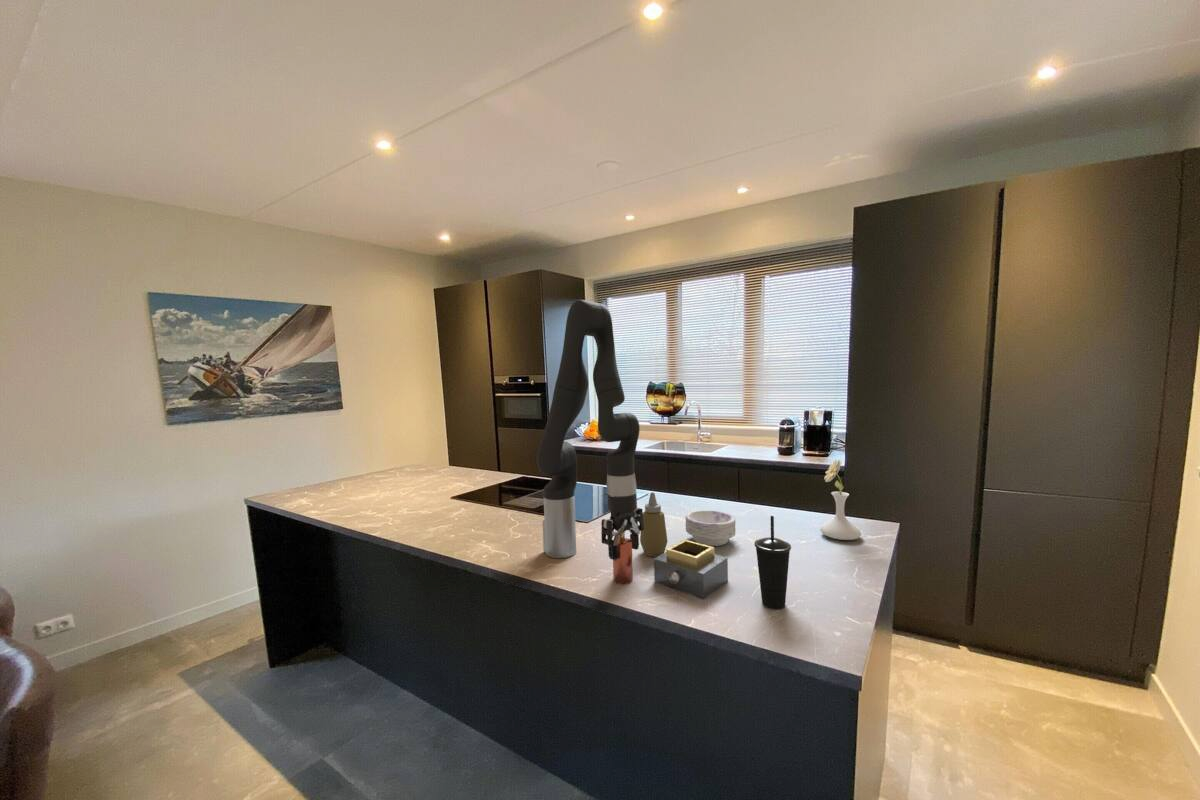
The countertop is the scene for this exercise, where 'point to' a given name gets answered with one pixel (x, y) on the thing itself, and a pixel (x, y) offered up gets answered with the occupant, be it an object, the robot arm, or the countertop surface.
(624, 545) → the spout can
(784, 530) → the countertop surface
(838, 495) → the flower in vase
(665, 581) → the grey drawer box
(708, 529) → the paper bowls
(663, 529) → the squeeze bottle
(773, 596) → the drinking cup
